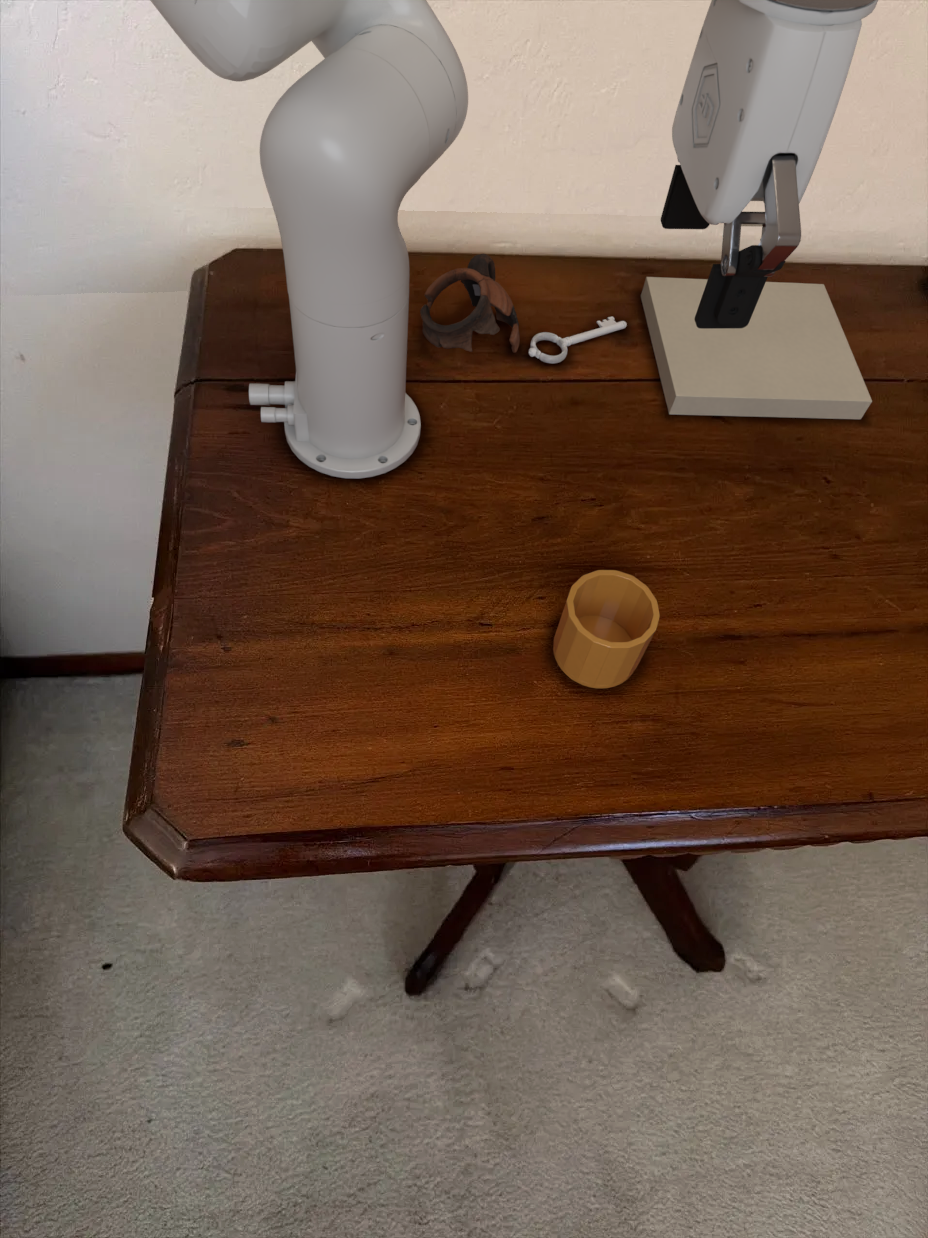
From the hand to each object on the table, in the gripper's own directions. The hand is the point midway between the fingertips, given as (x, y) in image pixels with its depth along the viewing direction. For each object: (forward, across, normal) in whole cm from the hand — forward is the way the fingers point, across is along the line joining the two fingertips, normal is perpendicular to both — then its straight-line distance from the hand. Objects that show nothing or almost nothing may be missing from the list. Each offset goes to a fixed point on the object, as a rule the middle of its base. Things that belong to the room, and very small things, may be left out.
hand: (700, 273), depth 55 cm
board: (+27, -24, +19) cm, 41 cm away
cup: (+27, +11, -3) cm, 30 cm away
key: (+27, -26, +1) cm, 37 cm away
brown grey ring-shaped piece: (+27, -27, -10) cm, 40 cm away
